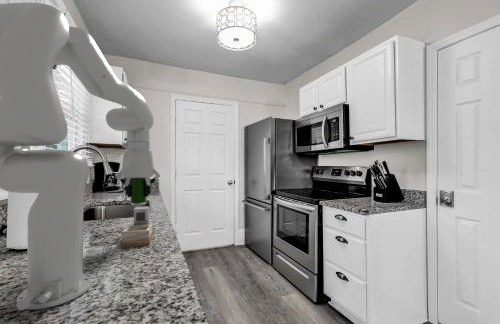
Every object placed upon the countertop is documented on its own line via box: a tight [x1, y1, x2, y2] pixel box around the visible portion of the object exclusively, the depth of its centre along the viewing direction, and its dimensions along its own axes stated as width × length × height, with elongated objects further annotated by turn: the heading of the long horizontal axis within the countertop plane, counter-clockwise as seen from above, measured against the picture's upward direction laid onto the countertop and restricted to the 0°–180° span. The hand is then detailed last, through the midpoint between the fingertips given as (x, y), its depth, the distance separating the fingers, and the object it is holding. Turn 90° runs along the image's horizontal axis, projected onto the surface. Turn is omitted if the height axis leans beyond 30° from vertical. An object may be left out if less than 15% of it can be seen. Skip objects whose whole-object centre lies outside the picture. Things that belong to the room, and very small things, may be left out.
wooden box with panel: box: [120, 205, 156, 248], centre depth 91 cm, size 16×9×11 cm, turn 16°
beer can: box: [130, 178, 148, 206], centre depth 88 cm, size 5×5×12 cm
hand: (138, 195), depth 88 cm, fingers closed on beer can, 5 cm apart
